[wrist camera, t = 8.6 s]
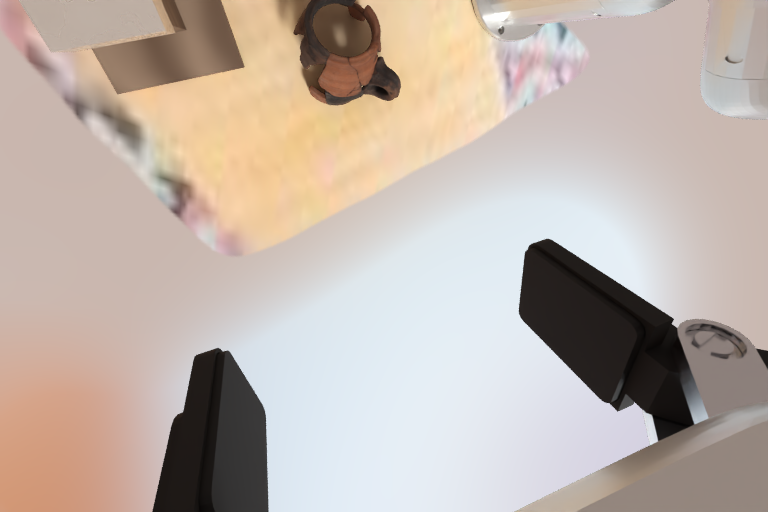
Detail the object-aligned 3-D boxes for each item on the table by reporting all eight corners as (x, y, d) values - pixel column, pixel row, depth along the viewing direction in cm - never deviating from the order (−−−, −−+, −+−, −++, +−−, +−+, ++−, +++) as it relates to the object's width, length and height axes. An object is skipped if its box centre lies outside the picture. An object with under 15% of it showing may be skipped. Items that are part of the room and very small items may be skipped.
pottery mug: (282, 90, 38) (280, 46, 30) (311, 18, 39) (316, -44, 31) (378, 136, 41) (400, 107, 33) (403, 68, 42) (430, 23, 34)
